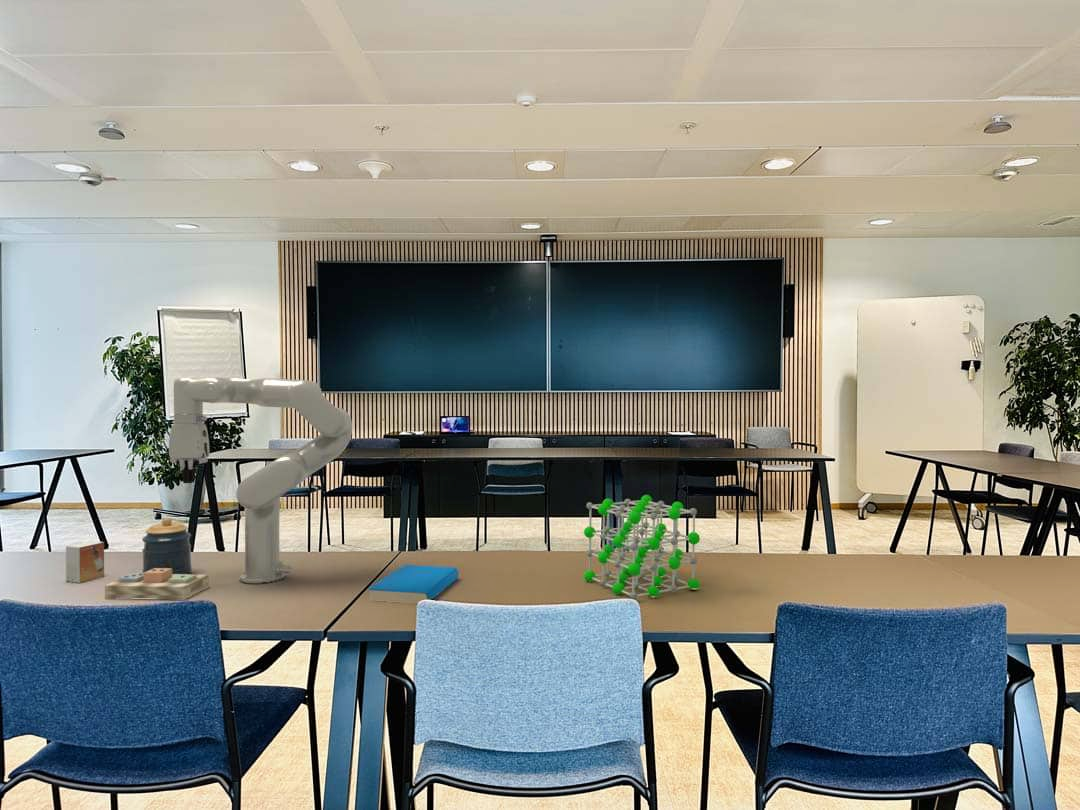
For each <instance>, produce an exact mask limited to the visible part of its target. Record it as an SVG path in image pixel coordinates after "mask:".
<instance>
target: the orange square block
mask: <svg viewBox="0 0 1080 810" xmlns="http://www.w3.org/2000/svg"><path fill="white" fill-rule="evenodd" d="M170 578H172V568H154V569H152V570H149V571H147V572H144V583H163V582H165V581H167V580H168V579H170Z"/></svg>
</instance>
